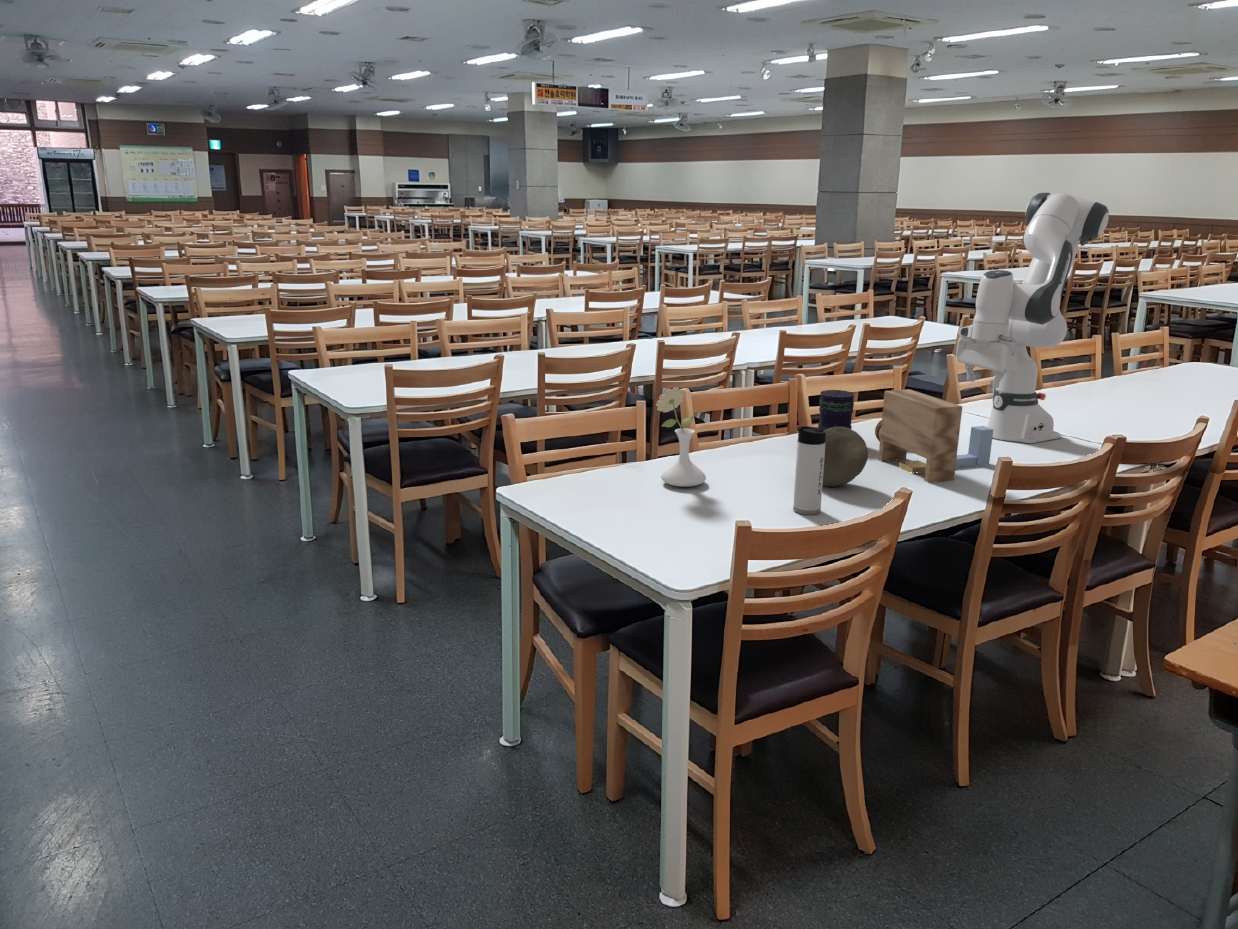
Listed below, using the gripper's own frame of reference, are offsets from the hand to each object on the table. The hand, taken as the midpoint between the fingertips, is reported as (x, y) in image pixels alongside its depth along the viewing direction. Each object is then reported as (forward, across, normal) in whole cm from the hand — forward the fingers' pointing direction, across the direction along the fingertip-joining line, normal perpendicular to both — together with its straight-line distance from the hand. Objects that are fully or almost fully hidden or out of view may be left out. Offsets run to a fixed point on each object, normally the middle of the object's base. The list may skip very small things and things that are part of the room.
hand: (982, 384), depth 249 cm
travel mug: (+24, -23, +64) cm, 72 cm away
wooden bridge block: (+22, -2, +19) cm, 30 cm away
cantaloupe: (+23, -8, +47) cm, 53 cm away
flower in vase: (+24, +5, +84) cm, 88 cm away
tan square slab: (+23, -2, +19) cm, 30 cm away
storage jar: (+22, +30, +26) cm, 45 cm away
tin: (+22, +21, +9) cm, 31 cm away
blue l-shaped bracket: (+22, -1, +5) cm, 22 cm away
